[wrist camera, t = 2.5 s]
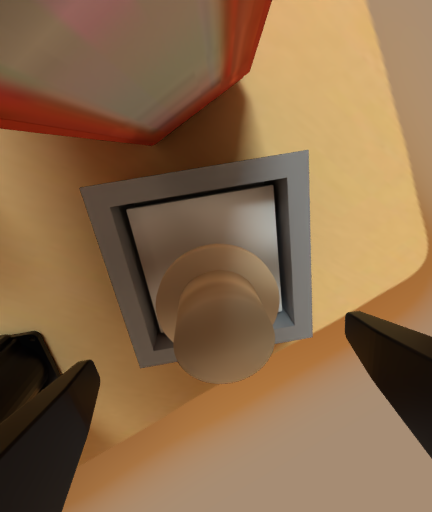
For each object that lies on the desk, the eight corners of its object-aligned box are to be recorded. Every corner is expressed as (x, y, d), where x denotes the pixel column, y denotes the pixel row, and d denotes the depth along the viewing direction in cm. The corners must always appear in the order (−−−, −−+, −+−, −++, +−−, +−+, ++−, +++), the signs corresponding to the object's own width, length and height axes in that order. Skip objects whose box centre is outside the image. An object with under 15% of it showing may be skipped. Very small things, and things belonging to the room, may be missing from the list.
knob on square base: (279, 306, 18) (343, 410, 10) (162, 327, 18) (134, 449, 10) (270, 184, 15) (351, 197, 7) (128, 208, 15) (52, 248, 7)
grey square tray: (284, 297, 22) (312, 337, 16) (154, 321, 21) (140, 368, 16) (275, 156, 18) (308, 149, 12) (114, 183, 17) (79, 187, 12)
